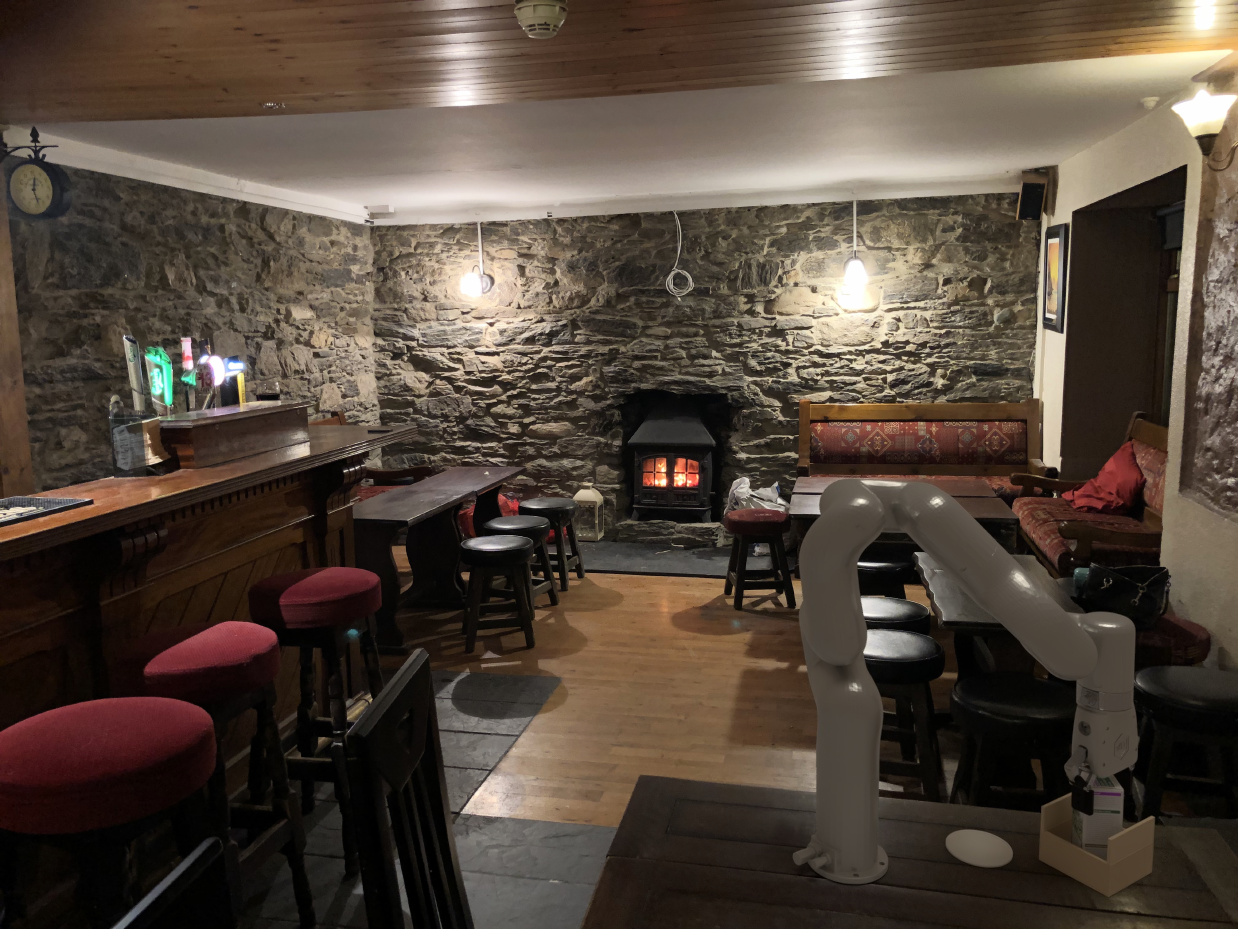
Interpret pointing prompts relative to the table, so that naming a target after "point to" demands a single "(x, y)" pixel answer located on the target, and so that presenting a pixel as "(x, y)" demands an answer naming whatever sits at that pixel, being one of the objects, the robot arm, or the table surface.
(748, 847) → the table surface
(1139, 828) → the wooden frame
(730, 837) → the table surface
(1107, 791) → the syrup box
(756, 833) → the table surface
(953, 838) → the beer mat
